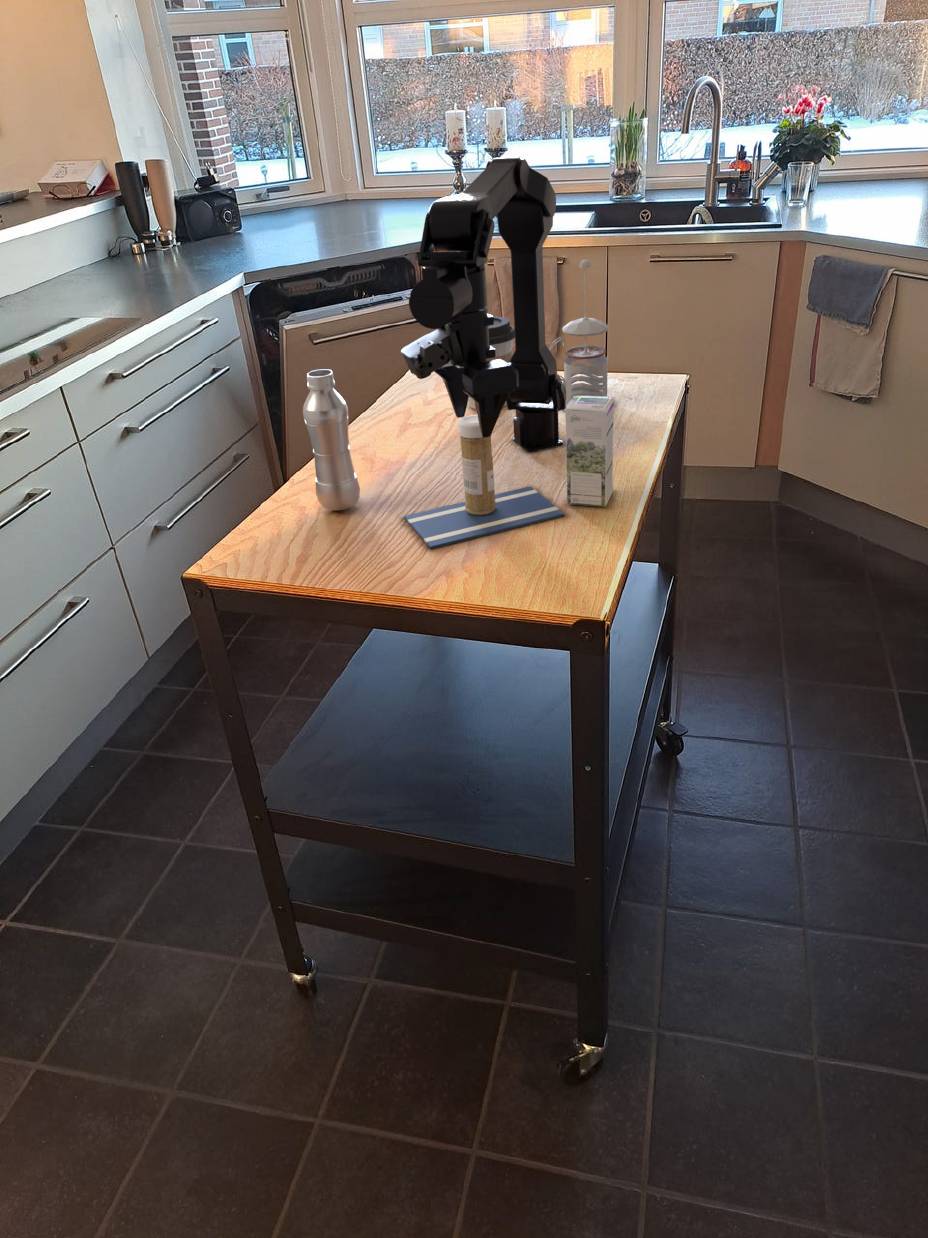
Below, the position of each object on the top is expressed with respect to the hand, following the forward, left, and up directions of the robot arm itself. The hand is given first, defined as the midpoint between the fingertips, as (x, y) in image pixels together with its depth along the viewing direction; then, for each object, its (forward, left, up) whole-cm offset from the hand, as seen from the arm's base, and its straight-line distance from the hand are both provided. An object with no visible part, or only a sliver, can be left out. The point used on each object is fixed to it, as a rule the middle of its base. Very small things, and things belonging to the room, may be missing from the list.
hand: (473, 426), depth 124 cm
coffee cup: (-20, -43, -13) cm, 49 cm away
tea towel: (0, +1, -13) cm, 13 cm away
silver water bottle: (+17, -13, -13) cm, 25 cm away
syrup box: (-16, +4, -13) cm, 21 cm away
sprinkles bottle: (0, 0, -13) cm, 13 cm away
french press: (-34, -33, -13) cm, 49 cm away
